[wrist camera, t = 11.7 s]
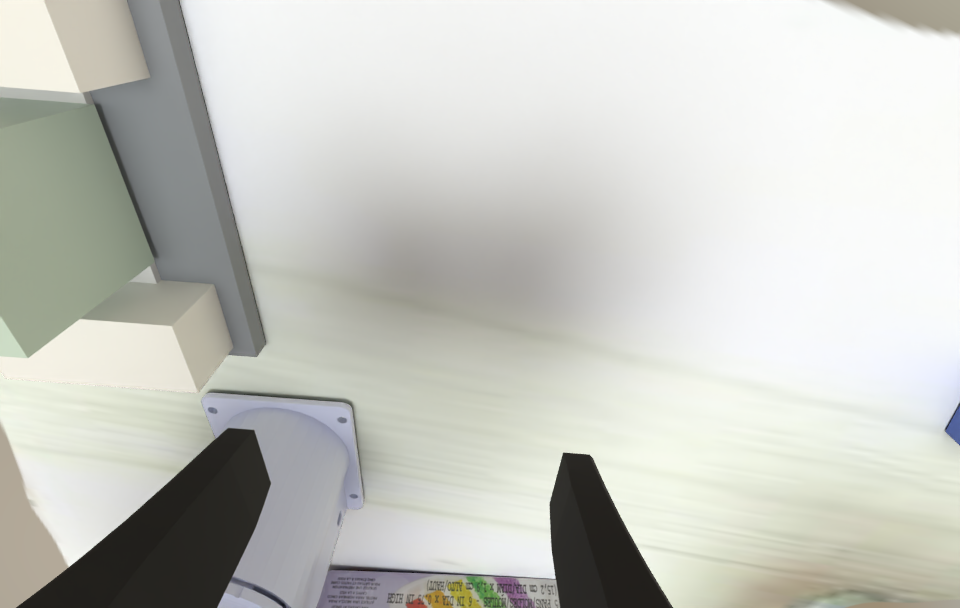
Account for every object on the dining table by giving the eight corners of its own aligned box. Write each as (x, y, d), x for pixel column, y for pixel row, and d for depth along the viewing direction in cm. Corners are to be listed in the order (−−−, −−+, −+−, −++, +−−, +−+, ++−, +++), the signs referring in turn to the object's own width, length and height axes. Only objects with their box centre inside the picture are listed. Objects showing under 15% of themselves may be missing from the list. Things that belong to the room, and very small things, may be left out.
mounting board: (265, 343, 22) (254, 361, 21) (63, 328, 22) (41, 345, 21) (170, -32, 14) (143, -35, 13) (-154, -58, 14) (-209, -63, 13)
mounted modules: (233, 347, 21) (198, 393, 19) (63, 334, 21) (5, 378, 19) (115, -36, 13) (26, -45, 11) (-161, -59, 13) (-315, -73, 11)
